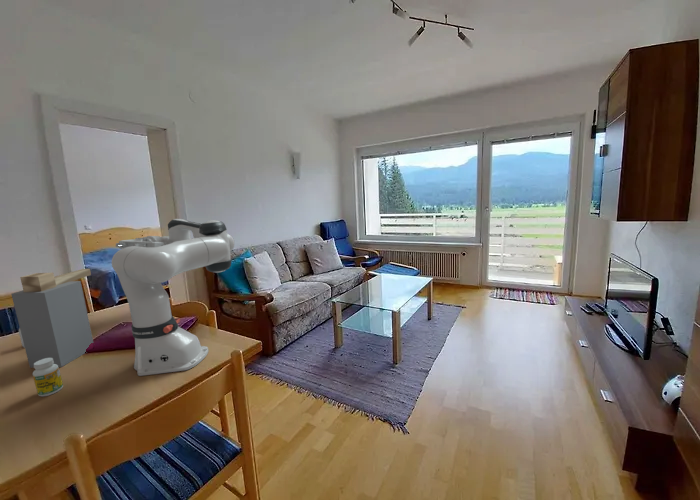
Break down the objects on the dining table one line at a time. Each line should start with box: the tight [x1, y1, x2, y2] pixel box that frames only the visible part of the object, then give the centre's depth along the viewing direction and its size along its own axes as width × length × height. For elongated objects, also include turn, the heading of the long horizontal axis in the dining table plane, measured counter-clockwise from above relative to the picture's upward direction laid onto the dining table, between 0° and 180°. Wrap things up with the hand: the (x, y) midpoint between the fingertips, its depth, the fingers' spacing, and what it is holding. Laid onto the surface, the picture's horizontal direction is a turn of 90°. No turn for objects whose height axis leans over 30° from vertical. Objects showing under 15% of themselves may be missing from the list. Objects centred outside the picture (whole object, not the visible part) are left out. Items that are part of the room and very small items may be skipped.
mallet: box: [19, 268, 92, 292], centre depth 109 cm, size 6×20×5 cm, turn 178°
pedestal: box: [11, 280, 94, 369], centre depth 107 cm, size 11×13×26 cm
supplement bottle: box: [32, 358, 64, 397], centre depth 89 cm, size 5×5×10 cm
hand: (125, 245), depth 136 cm, fingers open, 8 cm apart
